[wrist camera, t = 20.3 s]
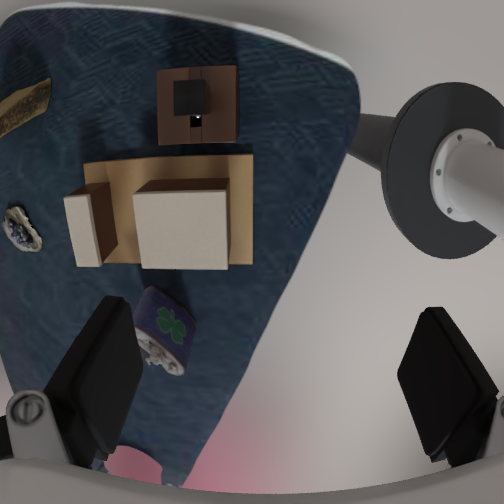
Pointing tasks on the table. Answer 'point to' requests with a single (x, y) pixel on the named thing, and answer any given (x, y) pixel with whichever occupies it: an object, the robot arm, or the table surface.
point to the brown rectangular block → (91, 223)
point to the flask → (164, 330)
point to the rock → (24, 106)
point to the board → (176, 167)
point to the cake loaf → (184, 223)
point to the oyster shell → (21, 230)
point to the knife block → (208, 126)
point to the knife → (191, 97)
